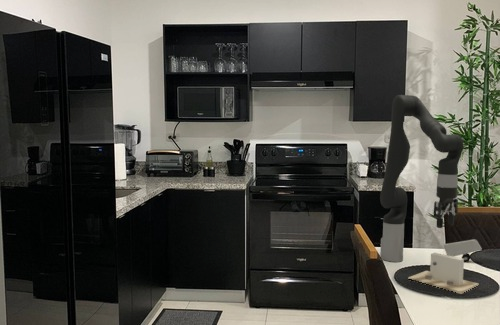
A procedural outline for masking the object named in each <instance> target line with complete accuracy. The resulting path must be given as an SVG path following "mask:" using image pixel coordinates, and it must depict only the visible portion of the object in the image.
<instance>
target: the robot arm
mask: <svg viewBox="0 0 500 325" xmlns="http://www.w3.org/2000/svg"><path fill="white" fill-rule="evenodd" d="M405 117H413V118H415V119H417V120H418V121H419V127H420V129H421V131H422V132H423V133H424V134H425V135H426V137H428V138H429V139H430V141H431V143H432V145H433V147H434V149H435V150H436V151H438V152H439V153H443V154H445V153H446V154H447V156H446V157H444V158H441V159H439V160H438V166H437V167H438V168H437V177H436V197H437V198H439V200H438V201H434V203H433V204H434V205H433V213H432V214H433V215H432V216H433V218H436V228H438V229H443V226H444V216H445V215H446V214H447V225H449V226H453V225H454V224H455V216H456V214H458V209H459V207H458V206H459V204H458V203H459V199H458V198H457V197H458V183H459V182H458V180H459V179H458V178H459V177H458V167H459V166H458V165H459V162H460V159H461V155H462V152H463V151H464V140H463V137H461V135H459V134H447V132H448V131H447V129H446V127H445V126H444V125H443V124H442V123H440V122H439V121H438V120H437V119H436V118H435V117H434V116H433V115H432V114H431V112H429V110H428V108H427V107H426V106H425V104H424V103H423V102H422V100H421V99H420V98H419V96H418V97H417V96H416V95H411V94H398V95H395V98H394V99H393V101H392V106H391V121H390V122H391V126H390V137H389V143H388V148H387V149H388V150H387V156H386V165H385V171H384V176H383V182H382V185H381V189H380V193H379V194H380V195H379V200H380V204H381V206H382V207H383V208H384V209H390V211H389V212H388V213H386V214H384V215H383V216H382V217H383V220H382V222H383V223H382V227H383V228H382V237H381V238H380V255H379V256H380V257H381V258H380V259H382V260H383V261H387V262H390V263H391V262H392V263H398V262H399V263H400V262H403V260H404V243H405V242H404V238H405V219H406V217H407V210H408V209H407V207H408V195H407V192H406V190H405V189H404V188H403V187H398V186H397V182H398V179H399V177H400V175H401V173H402V172H403V171H404V170H405V168H406V166H407V164H408V162H409V158H410V153H411V145H410V141H409V139H408V137H407V133H406V132H405V128H404V120H405Z"/></svg>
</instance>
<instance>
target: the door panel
mask: <svg viewBox="0 0 500 325" xmlns="http://www.w3.org/2000/svg"><path fill="white" fill-rule="evenodd" d="M464 263H465V262H464V259H462V257H457V256H454V257H453V256H448V255H447V254H442V253H438V252H432V253H430V263H429V264H430V268H429V269H430V270H429V271H430V276H431V279H434V280H438V281H442V282H446V283H447V280H450V281H453V284H454V285H457V286H460V285H462V284H463V280H464V266H465V264H464Z"/></svg>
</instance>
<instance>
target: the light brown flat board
mask: <svg viewBox="0 0 500 325" xmlns="http://www.w3.org/2000/svg"><path fill="white" fill-rule="evenodd" d="M408 279H412V280H416V281H419V282H422V283H426V284H429V285H432V286H431V287H433V286H436V287H435V288H437V287H439V288H438V289H440V288H443V289H442V290H444V289H446V290H445V291H448V290H449V291H448V292H451V291H453V292H452V293H455V292H456V294H458V295H459V294H460V295H462V294H465V293H467V292H469V291H471V290H473V289H472V288H474V287H476V286H478V285H479V284H480V283H478V282H473V281H469V280H466V279H463V284H462V285H460V286H457V285H454V284H453V281H450V280H447V283H446V282H442V281H438V280H434V279H431V276H430V270H424V271H422V272H419V273H416V274H414V275H410V276H408V277H407V280H408ZM422 283H421V284H422ZM426 284H425V285H426ZM429 285H428V286H429ZM478 287H479V286H478ZM476 288H477V287H476ZM470 289H471V290H470ZM474 289H475V288H474ZM468 290H469V291H468ZM466 291H467V292H466ZM464 292H465V293H464Z"/></svg>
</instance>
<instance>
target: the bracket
mask: <svg viewBox="0 0 500 325" xmlns="http://www.w3.org/2000/svg"><path fill="white" fill-rule="evenodd" d="M443 249H444V251H445V255H448V256H453V257H457V256H461V255H462V256H461V258H462V259H464V263H468V262H470V260H471V255H470V253H475V252H479V251H482V249H483V248H482V246H481V244H480V243H479V241H478V240H477V239H474V238H472V239H467V240H461V241H455V242H449V243H444V244H443Z"/></svg>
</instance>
